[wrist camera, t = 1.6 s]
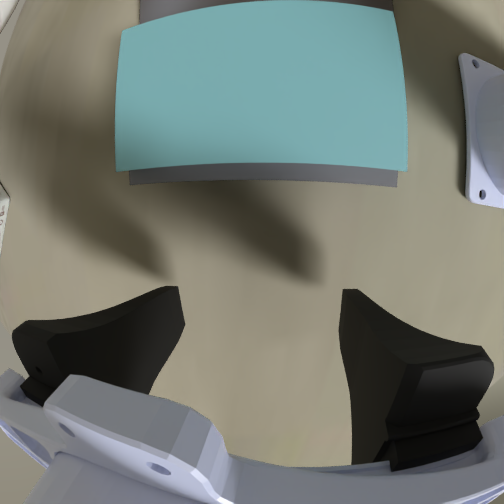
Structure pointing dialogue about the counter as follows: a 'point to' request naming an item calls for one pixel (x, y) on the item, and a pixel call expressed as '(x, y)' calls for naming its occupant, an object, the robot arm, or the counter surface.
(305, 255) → the counter surface
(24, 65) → the counter surface
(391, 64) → the teal slab
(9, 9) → the flower in vase
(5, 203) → the supplement box
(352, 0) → the grey wooden tray
